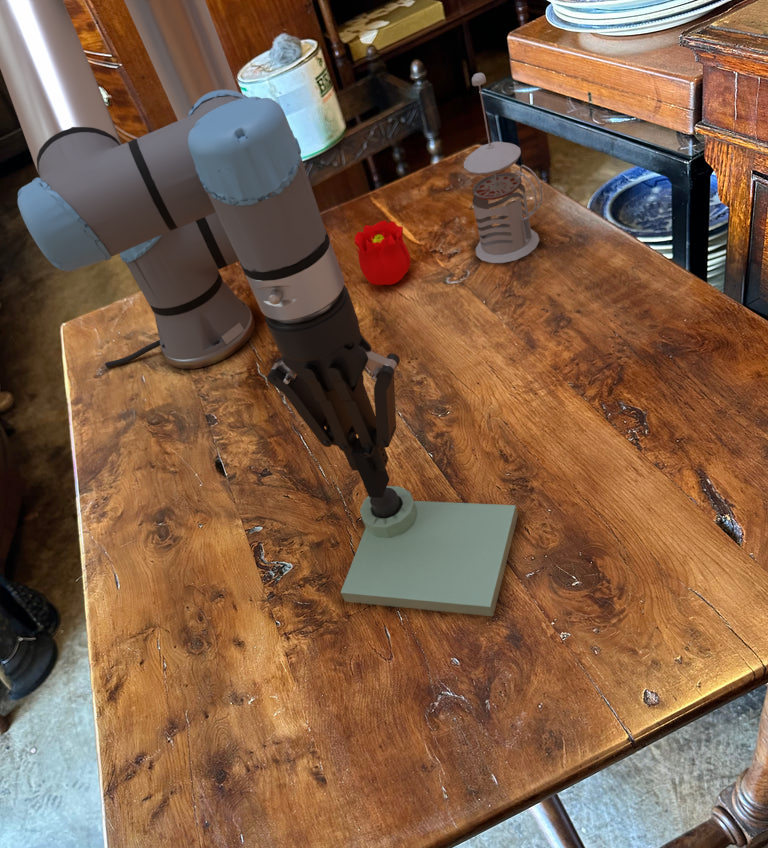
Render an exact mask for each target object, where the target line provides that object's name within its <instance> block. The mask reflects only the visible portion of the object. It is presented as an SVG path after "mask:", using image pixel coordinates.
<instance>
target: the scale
mask: <svg viewBox="0 0 768 848" xmlns="http://www.w3.org/2000/svg"><path fill="white" fill-rule="evenodd" d="M386 488H392V489H393V490H395V491H396V493H397V496H398V498H399V501H400V504H401V507H400V510H399V512H398V513H397V514H396V515H394V516H392V517H389V518H379V517H378V516H376V515H375V513H374V510H373V508H372V506H371V503H370V498H371V497H369V495H368V496H366V497H365V498H364V499H363V502H362V504H361V507H360V509H359V512H360V516H361V519H362V522H363V525H364V527H365V528H364V531H363V533H362V536H361V538H360V541H359V543H358V546H357V549H356V552H355V554H354V557H353V558H352V562H351V564H350V566H349V570H348V572H347V575H346V577H345V580H344V582H343V585H342V587H341V589H340V594H341V597H342V599H343V600H344V602H347V603H355V604H356V603H357V604H366V605H376V606H384V607H396V608H406V609H413V610H414V609H415V610H425V611H435V612H444V613H454V614H463V615H473V616H474V615H475V616H485V617H494V616H495V611H496V608H497V603H498V599H499V595H500V591H501V586H502V583H503V578H504V574H505V570H506V567H507V562H508V558H509V553H510V550H511V545H512V541H513V539H514V534H515V529H516V525H517V521H518V518H519V513H518V508H517V506H516V505H515V504H498V503H497V504H496V503H473V502H453V501H451V502H449V501H429V500H428V501H427V500H414V497H413V495H412V492H411V491H409V490H407V489H405V488H404V487H402V486H400V485H399V486H398V485H397V486H396V485H387V487H386Z"/></svg>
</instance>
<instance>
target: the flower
mask: <svg viewBox="0 0 768 848" xmlns="http://www.w3.org/2000/svg"><path fill="white" fill-rule="evenodd" d="M403 233H404V227H403V226H400V225H398V224H397V223H396V222H395V221H393V220H392V221H389V222H388V221H387V220H381V221H378V222H377V223H375V224H373V225H367V224H366V225H364V227H363V231H358V232H357V233H356V234H355V235H354V241H353V243H354V244H355V245H356V248H355V249H356V251H357V254H358V263H359V268H360V269H361V273H362V274H363V276H364V277H365V279H366V281H368V282H369V283H370V284H371V285H373V286H392V285H395V284H397V283H398V282H400V281H401V280H402V279H403V278H404V276H405V275H406V274H407V273H408V271H409V269H410V267H411V263H412V262H411V261H412V259H411V254H410V252H409V249H408V247H407V245H406V243H405V241H404V237H403Z"/></svg>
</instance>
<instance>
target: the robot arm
mask: <svg viewBox="0 0 768 848" xmlns="http://www.w3.org/2000/svg"><path fill="white" fill-rule="evenodd" d="M123 1H124V4H125V7H126V8H127V10H128V13H129V15H130V18H131V19H132V21H133V24H134V26H135V28H136V30H137V32H138V35H139V37H140V39H141V41H142V44H143V46H144V48H145V51H146V52H147V55H148V57H149V59H150V62H151V64H152V66H153V69H154V70H155V73H156V74H157V77H158V79H159V82H160V83H161V86H162V88H163V90H164V92H165V95H166V97H167V99H168V102H169V103H170V106H171V108H172V110H173V113H174V115H175V117H176V119H177V121H173V122H172V123H169V124H167V125H165V126H163V127H160V128H158V129H156V130H152V131H151V132H149V133H146V134H144V135H142V136H140V137H137V138H134V139H131V140H129V141H128V142H125V143H122V141H121V137H120V135H119V132H118V131H117V128H116V126H115V123H114V121H113V118H112V116H111V113H110V111H109V109H108V105H107V104H106V101H105V98H104V96H103V94H102V91H101V89H100V86H99V84H98V81H97V79H96V76H95V73H94V71H93V69H92V67H91V64H90V61H89V60H88V57H87V55H86V52H85V50H84V47H83V45H82V41H81V40H80V38H79V34H78V32H77V30H76V27H75V25H74V23H73V20H72V18H71V15H70V13H69V11H68V8H67V5H66V3H65V0H0V71H1V74H2V77H3V80H4V82H5V85H6V89H7V91H8V93H9V96H10V100H11V103H12V105H13V109H14V111H15V114H16V116H17V119H18V122H19V124H20V127H21V130H22V132H23V135H24V138H25V141H26V144H27V147H28V149H29V152H30V155H31V158H32V161H33V163H34V166H35V169H36V172H37V174H38V175H39V176H37V177H36V178H34V179H32V181H31V182H29V183H27V184H25V185H24V186H21V188H19V190H18V192H17V207H18V209H19V212H20V215H21V218H22V221H23V222H24V224H25V226H26V228H27V230H28V232H29V234H30V235H31V237H32V239H33V241H34V242H35V244H36V246H37V247H38V248H39V250H40V251H41V253H42V254H43V256H44V257H45V258H46V259H47V260H48V261H49V262H50V263H51V265H53V267H55V268H56V269H58V270H60V271H64V272H67V273H68V272H75V271H78V270H81V269H84V268H87V267H89V266H93V265H95V264H99V263H101V262H105V261H106V262H107V261H110V260H112V257H114V256H116V255H118V254H119V257H120V259H121V261H122V262H124V263H125V264H126V267H127V268H128V270H129V272H130V274H131V275H132V277H133V279H134V281H135V282H136V284H137V286H138V287H139V289H140V291H141V293H142V295H143V296H144V298H145V300H146V302H147V303H148V306H149V307H150V309H151V311H152V313H153V315H154V319H155V325H156V329H157V333H158V334H157V335H158V340H156V341H154V342H152V343H150V344H147V345H146V346H144V347H141V348H140V349H139V350H137V351H135V352H134V353H131V354H129V355H127V356H125V357H121V358H118V359H115V360H111V361H107V362H105V364H104V365H105V367H106V368H107V369H109V368H112V367H116V366H121V365H125V364H127V363H130V362H132V361H133V360H136V359H138V358H139V357H141V356H143V355H144V354H147V353H148V352H150V351H152V350H154V349H156V348H158V347H160V350H161V352H162V354H163V355H164V357H165V359H166V361H167V362H168V363H169V364H170V365H171V366H173V367H175V368H177V369H185V370H191V369H192V370H193V369H194V370H195V369H199V368H205V367H208V366H212V365H214V364H216V363H220V362H221V361H223V360H226V358H228V357H230V356H232V355H233V354H235V353H236V352H238V351H239V350H240V349H241V348H242V347H243V346H244V345H246V343H248V341H249V339H250V338H251V337H252V335H253V334H254V331H255V326H256V321H255V318H254V316H253V313H252V310H251V309H250V307H249V306H248V305H247V304H246V303H245V302H244V301H243V300H242V299H240V298H239V297H238V295H236V293H234V291H233V290H232V289H231V288H230V287H229V285H228V284H227V283H226V282H225V280H224V279H223V277H222V274H221V272H220V271H219V270H222V269H224V268H226V267H228V266H231V265H233V264H235V263H238V262H239V266H240V267H241V269H242V271H243V274H244V276H245V278H246V280H247V283H248V285H249V287H250V290H251V292H252V294H253V297H254V298H255V301H256V303H257V306H258V308H259V309H260V312H261V313H262V315H264V321H265V325H266V326H267V328H268V330H269V333H270V335H271V337H272V339H273V341H274V344H275V347H277V350H278V352H279V353H280V354H281V357H277V359H276V360H275V362H274V364H273V365H272V367H271V369H270V371H269V372H268V374H267V376H266V379H267V381H268V382H269V383H270V384H271V385H273V386H274V387H275V388H276V389H278V390H279V391H280V392H282V393H283V395H284V396H285V397H286V398H287V400H288V401H289V402H290V404H291V405H292V407H293V408H294V409H295V411H296V412H297V413H298V415H299V416H300V418H302V420H303V421H304V422H305V424H306V425H307V426H308V428H309V429H310V431H311V432H312V433H313V435H314V436H315V437H316V439H317V440H318V442H319V443H320V444H321V445H322V446H323V447H325V448H331V447H332V446H336V447H338V448H339V450H340V451H341V452H343V453H344V456H345V458H346V460H347V463H348V465H349V468H350V469H351V470H352V471H356V472H357V471H358V474H359V476H360V479H361V481H362V483H363V486H364V488H365V491H366V493H367V495H368V496H369V497H375V498H382V497H383V495H384V492H385V489H386V487H387V486H388V485H389V481H390V476H389V473H388V471H387V469H386V467H387V464H388V461H389V456H388V454H387V451H386V448H389V447H390V445H391V443H392V440H393V437H394V435H395V432H396V429H397V413H396V411H397V410H396V386H395V373H396V371H397V368H398V366H399V364H400V361H401V359H400V356H399V355H398V354H396V353H393V352H392V353H388V354H387V356H386V357H385V356H384V355H382V354H379V353H378V352H377V353H376V352H374V351H372V347H371V344H370V343H369V342H368V341H367V339H365V338H364V336H363V334H362V333H361V329H360V323H359V318H358V315H357V312H356V309H355V306H354V303H353V301H352V298H351V296H350V295H351V294H350V292H349V289H348V287H347V286H346V285H345V277H344V273H343V272H342V269H341V267H340V264H339V261H338V258H337V256H336V253H335V250H334V247H333V244H332V241H331V239H330V237H329V234H328V231H327V229H326V228H325V224H324V221H323V218H322V215H321V212H320V208H319V206H318V203H317V200H316V197H315V194H314V192H313V187H312V185H311V182H310V179H309V176H308V173H307V170H306V167H305V165H304V162H303V158H302V155H301V154H302V150H301V146H300V143H299V140H298V138H296V137H295V135H294V132H293V130H292V129H291V125H290V123H289V121H288V119H287V116H286V114H285V111H284V109H283V108H282V106H281V105H280V104H279V103H278V102H277V101H276V100H274V99H273V98H269V97H259V96H247V95H246V94H244V93H242V92H240V91H239V89H238V87H237V84H236V81H235V78H234V76H233V73H232V69H231V68H230V65H229V62H228V59H227V56H226V53H225V51H224V49H223V45H222V42H221V40H220V37H219V35H218V32H217V29H216V27H215V23H214V21H213V18H212V16H211V13H210V10H209V7H208V4H207V1H206V0H123ZM366 367H368V368H369V371H370V376H371V378H370V380H371V381H372V382H373V383H374V387H373V398H374V399H373V400H374V408H373V406H372V403H371V400H370V398H369V395H368V391H367V390H366V387H365V384H364V381H365V379H364V377H365V376H364V374H363V372H364V370H365V368H366Z"/></svg>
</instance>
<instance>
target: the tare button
mask: <svg viewBox="0 0 768 848" xmlns="http://www.w3.org/2000/svg"><path fill="white" fill-rule="evenodd" d="M370 503H371V506H372V508H373V510H374V513H375V515H376V516H378V517H379V518H389V517H392V516H394V515H396V514H397V513H398V512H399V510H400V507H401V504H400V501H399V498H398V496H397V493H396V491H395V490H393V489H392V488H386V489H385V492H384V495H383V497H382V498H375V497H371V498H370Z"/></svg>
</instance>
